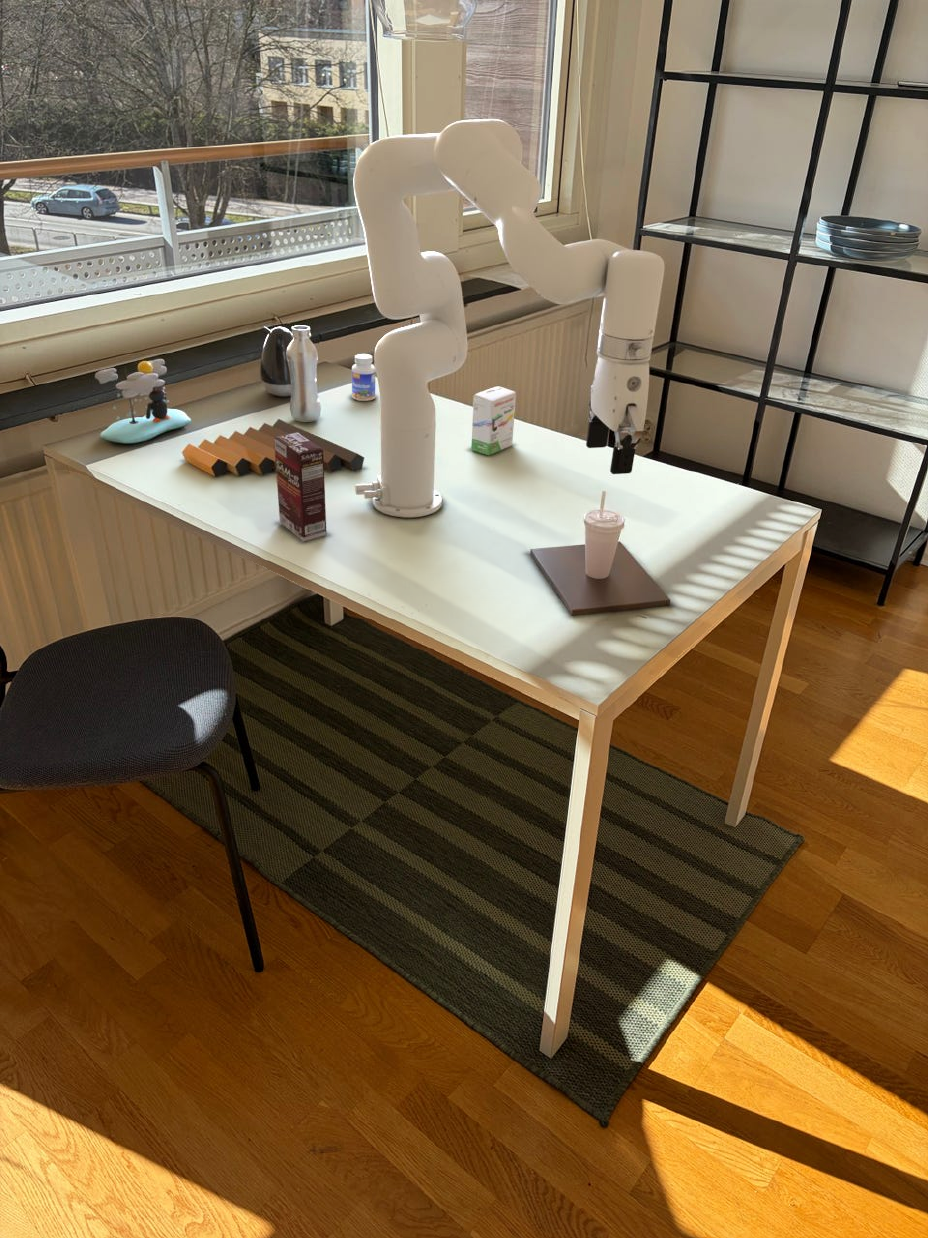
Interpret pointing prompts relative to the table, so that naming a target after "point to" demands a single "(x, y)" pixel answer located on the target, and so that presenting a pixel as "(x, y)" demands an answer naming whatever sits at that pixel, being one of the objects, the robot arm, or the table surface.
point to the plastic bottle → (303, 376)
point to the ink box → (493, 420)
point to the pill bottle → (363, 378)
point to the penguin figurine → (157, 412)
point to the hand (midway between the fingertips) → (608, 459)
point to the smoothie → (601, 539)
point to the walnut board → (598, 581)
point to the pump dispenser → (276, 362)
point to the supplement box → (300, 486)
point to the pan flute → (262, 451)
